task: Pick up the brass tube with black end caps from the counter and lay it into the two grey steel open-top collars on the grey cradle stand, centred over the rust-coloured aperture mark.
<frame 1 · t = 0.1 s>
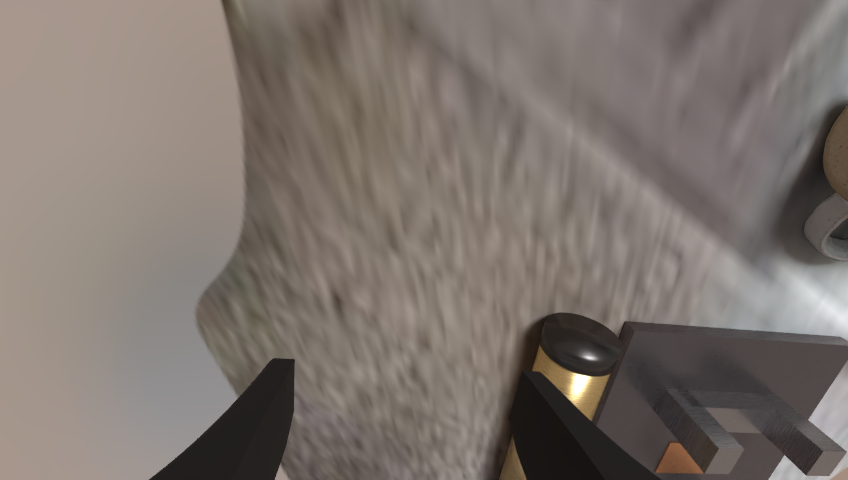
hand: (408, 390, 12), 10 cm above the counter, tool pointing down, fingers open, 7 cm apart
grey cradle stand: (677, 445, 30), on the counter
brass tube: (536, 409, 27), on the counter
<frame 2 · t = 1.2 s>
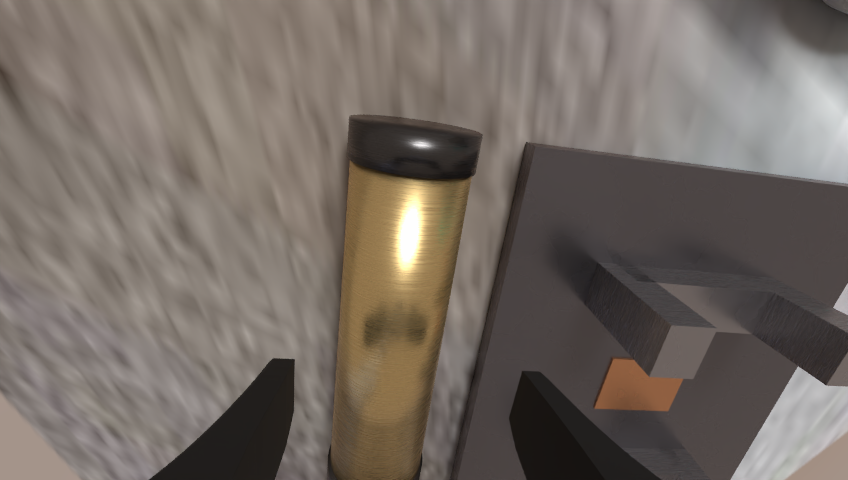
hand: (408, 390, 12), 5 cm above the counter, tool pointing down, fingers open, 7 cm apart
grey cradle stand: (628, 370, 20), on the counter
brass tube: (400, 304, 17), on the counter, tilted 12°
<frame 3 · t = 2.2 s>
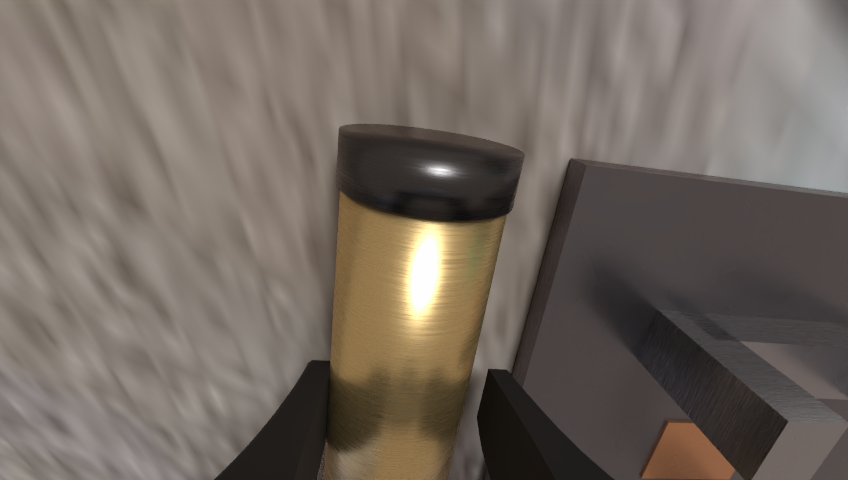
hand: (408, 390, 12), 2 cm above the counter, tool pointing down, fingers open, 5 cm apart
grey cradle stand: (681, 429, 16), on the counter
brass tube: (406, 357, 14), on the counter, tilted 12°
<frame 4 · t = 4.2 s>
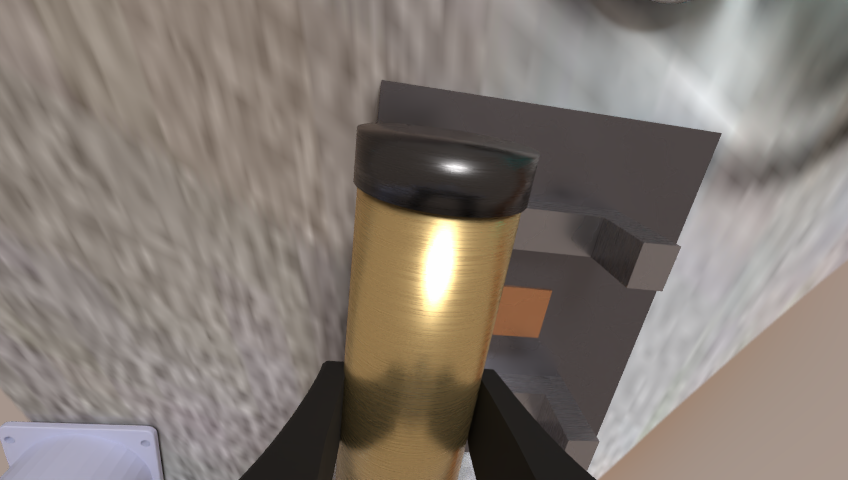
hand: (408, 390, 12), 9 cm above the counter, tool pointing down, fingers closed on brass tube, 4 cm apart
grey cradle stand: (504, 301, 22), on the counter
brass tube: (404, 352, 14), point 7 cm above the counter, touching gripper
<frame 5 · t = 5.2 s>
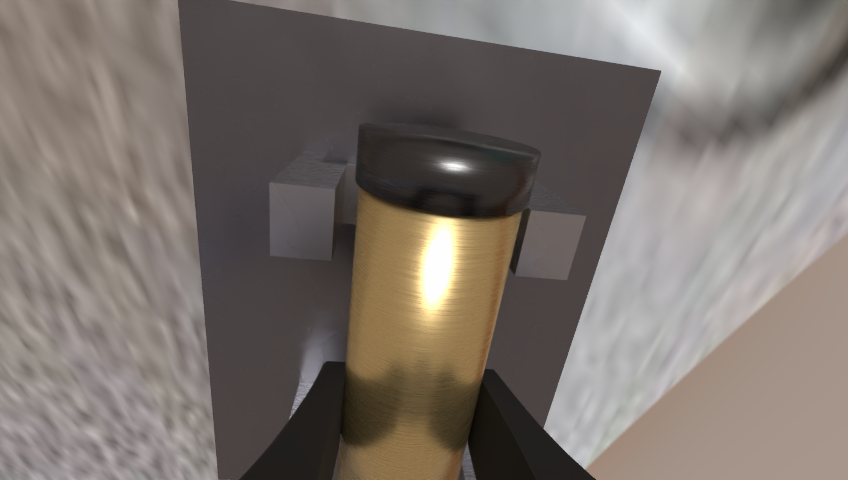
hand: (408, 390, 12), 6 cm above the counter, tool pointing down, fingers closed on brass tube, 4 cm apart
grey cradle stand: (401, 297, 18), on the counter
brass tube: (404, 351, 14), point 4 cm above the counter, touching gripper
when the fingers open (5 cm above the counter, at t = 6.0 s): brass tube drops 1 cm, resting on grey cradle stand.
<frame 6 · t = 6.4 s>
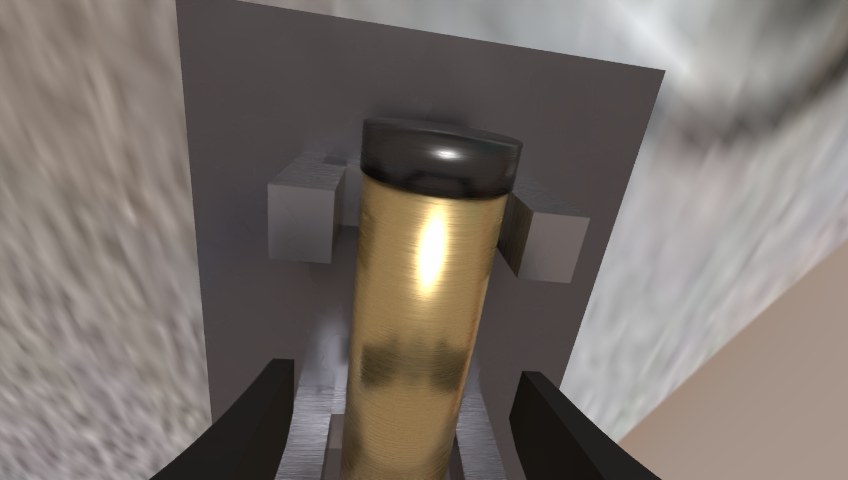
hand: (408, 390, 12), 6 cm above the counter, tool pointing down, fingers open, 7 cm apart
grey cradle stand: (402, 299, 17), on the counter
brass tube: (403, 329, 15), point 2 cm above the counter, touching grey cradle stand
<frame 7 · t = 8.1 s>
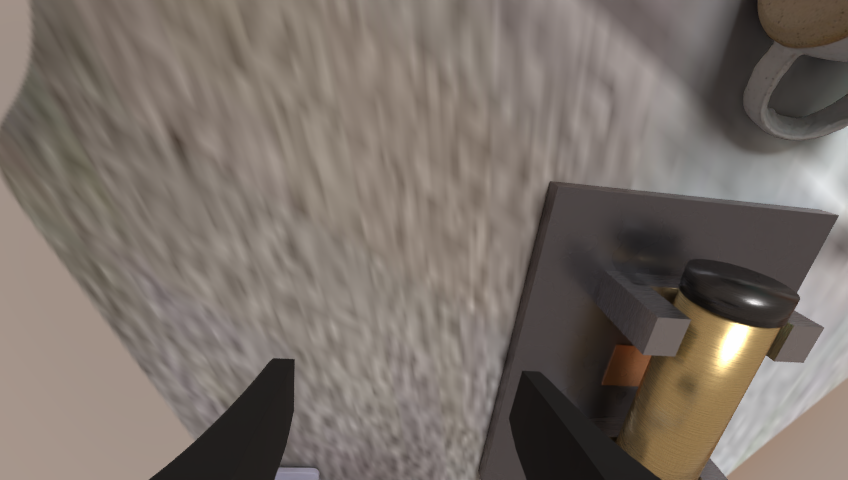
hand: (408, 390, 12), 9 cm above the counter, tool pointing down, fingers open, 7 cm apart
grey cradle stand: (629, 355, 25), on the counter
ceramic mug: (815, 15, 18), on the counter
brass tube: (652, 381, 23), point 2 cm above the counter, touching grey cradle stand
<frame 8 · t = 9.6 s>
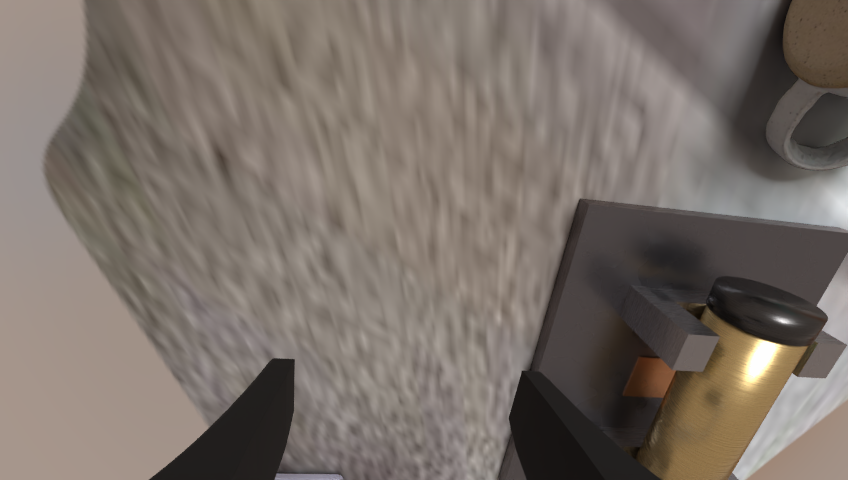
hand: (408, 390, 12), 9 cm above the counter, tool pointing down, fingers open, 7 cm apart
grey cradle stand: (650, 366, 25), on the counter
ceramic mug: (836, 51, 19), on the counter
brass tube: (674, 393, 23), point 2 cm above the counter, touching grey cradle stand
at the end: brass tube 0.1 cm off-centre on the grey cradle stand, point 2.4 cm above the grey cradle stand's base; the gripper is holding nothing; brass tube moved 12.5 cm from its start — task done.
